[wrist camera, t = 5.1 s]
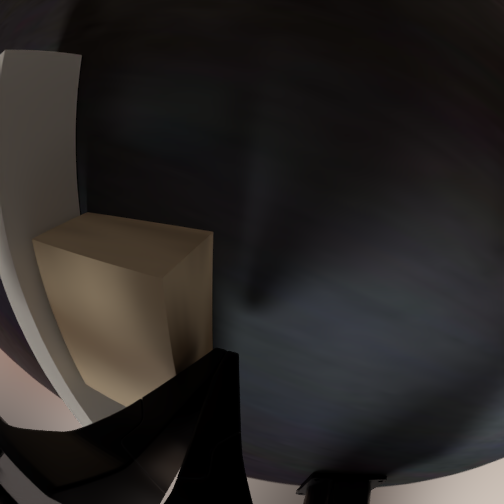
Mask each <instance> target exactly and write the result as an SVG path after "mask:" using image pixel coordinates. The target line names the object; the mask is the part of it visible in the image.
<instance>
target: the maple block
mask: <svg viewBox="0 0 504 504" xmlns="http://www.w3.org/2000/svg"><path fill="white" fill-rule="evenodd" d="M32 243H33V247H34V251H35V256H36V260H37V263H38V267H39V271H40V274H41V278H42V281H43V284H44V288H45V291H46V294H47V297H48V300H49V303H50V306H51V308H52V311H53V314H54V316H55V319H56V322H57V324H58V327H59V329H60V332H61V334H62V336H63V339H64V341H65V343H66V345H67V348H68V350H69V352H70V354H71V356H72V358H73V360H74V362H75V364H76V366H77V368H78V370H79V372H80V374H81V376H82V378H83V380H84V382H85V384H86V385H88V386H90V387H91V388H93V389H95V390H96V391H98V392H100V393H102V394H103V395H105V396H107V397H109V398H110V399H112V400H114V401H116V402H118V403H120V404H122V405H124V406H126V407H127V406H129V405H131V404H132V403H134V402H136V401H137V400H139V399H142V397H144V396H145V395H147V394H148V393H150V392H151V391H153V390H154V389H156V388H158V387H159V386H161V385H162V384H164V383H165V382H167V381H168V380H170V379H171V378H173V377H174V376H176V375H177V374H178V373H180V372H181V371H183V370H184V369H186V368H187V367H189V366H190V365H192V364H193V363H194V362H196V361H197V360H199V359H200V358H202V357H203V356H204V355H206V354H207V353H209V352H210V351H211V350H213V335H212V273H213V232H211V231H205V230H199V229H193V228H187V227H181V226H174V225H168V224H162V223H155V222H149V221H143V220H136V219H130V218H123V217H117V216H110V215H103V214H97V213H90V212H87V213H84V214H82V215H80V216H78V217H76V218H73V219H71V220H69V221H67V222H65V223H63V224H61V225H59V226H57V227H55V228H52V229H50V230H48V231H46V232H45V233H43V234H41V235H39V236H37V237H35V238H33V239H32Z"/></svg>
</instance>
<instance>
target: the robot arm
mask: <svg viewBox="0 0 504 504" xmlns="http://www.w3.org/2000/svg"><path fill="white" fill-rule="evenodd" d="M180 467H181V468H180ZM179 469H180V471H179ZM178 471H179V474H178V477H177V480H176V483H175V485H174V488H173V490H172V492H171V494H170V495H169V497H168V498H167V500H166V501H165V503H164V504H253V503H252V499H251V495H250V491H249V486H248V482H247V477H246V473H245V468H244V462H243V456H242V444H241V418H240V384H239V354H238V353H235V352H231V351H226V350H224V349H220V348H214V349H213V350H211V351H210V352H209V353H207V354H206V355H204V356H203V357H202V358H200V359H199V360H197V361H196V362H194V363H193V364H192V365H190V366H189V367H187V368H186V369H184V370H183V371H181V372H180V373H178V374H177V375H176V376H174V377H173V378H171V379H170V380H168V381H167V382H165V383H164V384H162V385H161V386H159V387H158V388H156V389H154V390H153V391H151V392H150V393H148V394H147V395H145V396H144V397H142V399H139V400H137V401H136V402H134V403H132V404H131V405H129V406H127V407H126V408H124V409H122V410H120V411H118V412H116V413H114V414H112V415H110V416H108V417H106V418H103V419H101V420H99V421H97V422H94V423H92V424H89V425H87V426H85V427H82V428H79V429H77V430H73V431H67V432H58V431H43V430H32V429H23V428H17V427H12V426H10V425H8V424H7V423H6V422H5V421H4V420H3V419H2V417H0V504H160V503H161V501H162V499H163V497H164V496H165V493H166V492H167V490H168V488H169V487H170V485H171V483H172V482H173V480H174V478H175V476H176V474H177V473H178ZM386 480H387V476H341V475H325V474H313V475H311V476H310V477H309V478H308V479H307V480H306V481H305V482H304V483H303V484H302V485H301V486H300V487H299V488H298V489H297V491H296V494H298V495H305V499H304V503H303V504H370V493H371V490H372V489H374V488H376V487H377V486H379V485H380V484H382V483H384V482H385V481H386Z"/></svg>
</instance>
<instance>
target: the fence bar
mask: <svg viewBox="0 0 504 504" xmlns="http://www.w3.org/2000/svg"><path fill="white" fill-rule="evenodd" d="M81 59H82V55H78V54H71V53H62V52H52V51H37V50H5V51H4V52H3V53H2V54H0V276H1V279H2V282H3V285H4V288H5V291H6V293H7V296H8V299H9V301H10V304H11V306H12V309H13V311H14V313H15V316H16V318H17V320H18V323H19V325H20V327H21V329H22V331H23V333H24V335H25V337H26V339H27V341H28V343H29V345H30V347H31V349H32V351H33V353H34V355H35V357H36V358H37V360H38V362H39V364H40V365H41V367H42V369H43V370H44V372H45V374H46V375H47V377H48V379H49V380H50V382H51V383H52V385H53V387H54V388H55V390H56V391H57V393H58V394H59V396H60V397H61V398H62V400H63V401H64V403H65V404H66V405H67V407H68V408H69V410H70V411H71V412H72V413H73V415H74V416H75V418H76V419H77V420H78V421H79V422H80V424H81V425H82V426H83V427H85V426H87V425H89V424H92V423H94V422H97V421H99V420H101V419H103V418H106V417H108V416H110V415H112V414H114V413H116V412H118V411H120V410H122V409H124V408H126V406H124V405H122V404H120V403H118V402H116V401H114V400H112V399H110V398H109V397H107V396H105V395H103V394H102V393H100V392H98V391H96V390H95V389H93V388H91V387H90V386H88V385H86V384H85V382H84V380H83V378H82V376H81V374H80V372H79V370H78V368H77V366H76V364H75V362H74V360H73V358H72V356H71V354H70V352H69V350H68V348H67V345H66V343H65V341H64V339H63V336H62V334H61V332H60V329H59V327H58V324H57V322H56V319H55V316H54V314H53V311H52V308H51V306H50V303H49V300H48V297H47V294H46V291H45V288H44V284H43V281H42V278H41V274H40V271H39V267H38V263H37V260H36V256H35V251H34V247H33V243H32V239H33V238H35V237H37V236H39V235H41V234H43V233H45V232H46V231H48V230H50V229H52V228H55V227H57V226H59V225H61V224H63V223H65V222H67V221H69V220H71V219H73V218H76V217H78V216H80V209H79V199H78V188H77V174H76V107H77V93H78V82H79V74H80V66H81Z"/></svg>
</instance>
